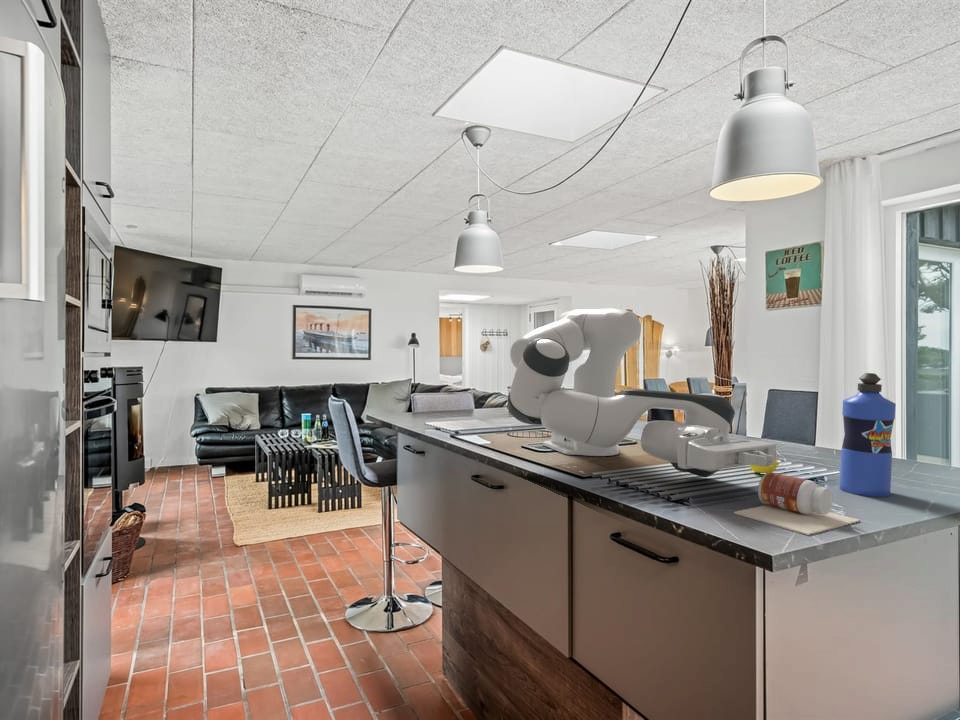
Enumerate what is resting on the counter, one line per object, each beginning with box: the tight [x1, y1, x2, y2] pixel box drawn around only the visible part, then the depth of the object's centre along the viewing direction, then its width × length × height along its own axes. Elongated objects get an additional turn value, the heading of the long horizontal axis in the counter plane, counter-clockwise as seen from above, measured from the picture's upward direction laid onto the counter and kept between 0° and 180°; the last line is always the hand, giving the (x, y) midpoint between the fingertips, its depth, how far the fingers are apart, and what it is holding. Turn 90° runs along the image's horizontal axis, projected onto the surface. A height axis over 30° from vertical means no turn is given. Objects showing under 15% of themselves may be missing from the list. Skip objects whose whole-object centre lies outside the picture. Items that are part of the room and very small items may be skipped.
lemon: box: [749, 459, 779, 473], centre depth 141 cm, size 7×5×5 cm
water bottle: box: [839, 372, 897, 498], centre depth 126 cm, size 9×9×25 cm
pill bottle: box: [757, 472, 834, 515], centre depth 109 cm, size 6×6×11 cm
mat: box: [733, 504, 861, 536], centre depth 107 cm, size 14×16×1 cm
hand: (769, 461), depth 111 cm, fingers closed
